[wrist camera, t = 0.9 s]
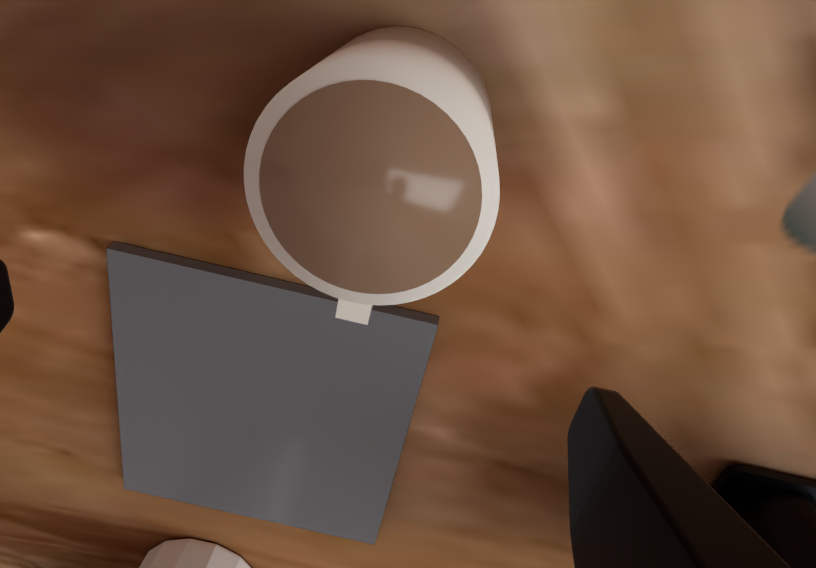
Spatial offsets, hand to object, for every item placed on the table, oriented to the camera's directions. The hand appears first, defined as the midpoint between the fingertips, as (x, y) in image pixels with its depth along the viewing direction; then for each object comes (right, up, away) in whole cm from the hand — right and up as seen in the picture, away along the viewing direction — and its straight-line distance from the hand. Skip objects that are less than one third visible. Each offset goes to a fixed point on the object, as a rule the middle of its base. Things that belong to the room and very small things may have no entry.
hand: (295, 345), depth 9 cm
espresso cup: (+1, +6, +10) cm, 12 cm away
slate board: (-5, -5, +17) cm, 18 cm away
